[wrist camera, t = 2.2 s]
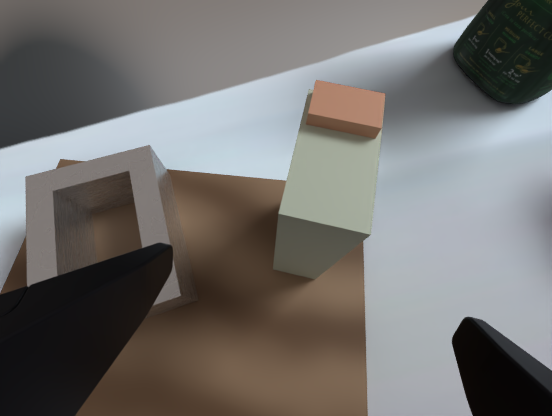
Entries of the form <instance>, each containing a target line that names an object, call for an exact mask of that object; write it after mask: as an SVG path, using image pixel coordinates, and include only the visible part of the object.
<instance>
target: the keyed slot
mask: <svg viewBox="0 0 552 416" xmlns="http://www.w3.org/2000/svg"><path fill="white" fill-rule="evenodd" d="M134 202H135V207H136V213H137V219H138V225H139V231H140V237H141V243H142V248H143V247H146V246H149V245H152V244H156V243H159V242H161V243H165V244H170V245H172V247H173V268H172V272H171V274H170V276H169V278H168V279H167V281H166V283H165V285H164V286H163V288H162V290H161V292H160V294H159V295H158V297H157V299H156V301H155V302H154V304H153V306H152V308H151V309H150V311H149V313H148V314H147V316H146V317H145V319H146V318H149V317H152V316H154V315H157V314H160V313H163V312H166V311H169V310H172V309H175V308H178V307H181V306H184V305H186V304H189V303H192V302H195V301H198V295H197V291H196V287H195V282H194V278H193V273H192V269H191V265H190V260H189V256H188V252H187V247H186V243H185V238H184V234H183V230H182V225H181V221H180V216H179V212H178V208H177V203H176V199H175V195H174V190H173V186H172V181H171V177H170V174H169V173H168V171H167V170H166V168H165V167H164V165H163V164H162V162H161V161H160V159H159V158H158V157H157V155H156V154H155V152H154V151H153V149H152V148H151V146H150V145H148V146H144V147H140V148H136V149H132V150H128V151H124V152H120V153H117V154H113V155H109V156H105V157H101V158H97V159H93V160H89V161H85V162H81V163H77V164H73V165H70V166H66V167H62V168H58V169H54V170H50V171H46V172H42V173H38V174H34V175H30V176H26V249H27V286H28V287H29V286H30V285H31V284H34V283H37V282H40V281H43V280H46V279H49V278H52V277H55V276H58V275H61V274H64V273H67V272H70V271H73V270H77V269H80V268H83V267H86V266H89V265H92V264H95V263H97V254H96V245H95V235H94V226H93V217H92V214H95V213H98V212H102V211H105V210H109V209H112V208H116V207H119V206H123V205H127V204H130V203H134Z"/></svg>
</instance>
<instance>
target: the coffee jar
mask: <svg viewBox="0 0 552 416" xmlns="http://www.w3.org/2000/svg"><path fill="white" fill-rule="evenodd" d="M454 58H455V60H456V62H457V63H458V64H459V66H460V67H461V68H462V69H463V71H464V72H465V73H466V74H467V75H468V76H469V77H470V78H471V79H472V80H473V81H474V82H475V83H476V84H477V85H478V86H479V87H480V88H481V89H482V90H483V91H485V92H486V93H487V94H488V95H489V96H491V97H492V98H494V99H495V100H497V101H500V102H506V103H513V104H519V103H525V102H529V101H531V100H534V99H536V98H539V97H541V96H543V95H545V94H546V93H548V92H549V91H551V90H552V0H488V1H487V2H486V4H485V5H484V6H483V7H482V9H481V10H480V11H479V12H478V14H477V15H476V16H475V17H474V19H473V20H472V21H471V23H470V24H469V25H468V26H467V28H466V29H465V30H464V32H463V33H462V35H461V36H460V37H459V39H458V40H457V42H456V43H455V46H454Z"/></svg>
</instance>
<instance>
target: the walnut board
mask: <svg viewBox="0 0 552 416" xmlns="http://www.w3.org/2000/svg"><path fill="white" fill-rule="evenodd" d="M81 162H85V161H75V160H64V159H60V161H59V163H58V166H57V168H56V169H58V168H62V167H66V166H70V165H73V164H77V163H81ZM166 170H167V171H168V173H169V174H170V177H171V181H172V186H173V190H174V195H175V199H176V203H177V208H178V212H179V216H180V221H181V225H182V230H183V234H184V238H185V243H186V247H187V252H188V256H189V260H190V265H191V269H192V273H193V278H194V282H195V287H196V291H197V295H198V301H195V302H192V303H189V304H186V305H184V306H181V307H178V308H175V309H172V310H169V311H166V312H163V313H160V314H157V315H154V316H152V317H149V318H146V319H144V320H143V322H142V323H141V325H140V326H139V328H138V329H137V330H136V332H135V333H134V334H133V336H132V337H131V339H130V340H129V341H128V343H127V344H126V346H125V347H124V348H123V350H122V351H121V353H120V354H119V355H118V357H117V358H116V360H115V361H114V362H113V364H112V365H111V366H110V368H109V369H108V371H107V372H106V373H105V375H104V376H103V378H102V379H101V380H100V382H99V383H98V385H97V386H96V387H95V389H94V390H93V392H92V393H91V394H90V396H89V397H88V399H87V400H86V401H85V403H84V404H83V405H82V407H81V408H80V410H79V411H78V412H77V414H76V415H75V416H368V411H367V372H366V334H365V295H364V256H363V241H362V242H361V243H360V244H359V245H357V246H356V247H355V248H354V249H352V250H351V251H350V252H349V253H347V254H346V255H345V256H344V257H342V258H341V259H340V260H339V261H337V262H336V263H335V264H334V265H333V266H331V267H330V268H329V269H328V270H326V271H325V272H324V273H323V274H321V275H320V276H319V277H318V278H316V279H311V278H307V277H303V276H299V275H295V274H291V273H286V272H282V271H278V270H274V269H273V263H274V253H275V243H276V233H277V223H278V214H279V209H280V205H281V201H282V197H283V193H284V189H285V185H286V181H283V180H273V179H263V178H252V177H242V176H231V175H221V174H210V173H200V172H189V171H179V170H169V169H166ZM92 217H93V226H94V235H95V245H96V254H97V263H98V262H101V261H104V260H107V259H110V258H113V257H116V256H119V255H122V254H125V253H128V252H131V251H134V250H137V249H140V248H142V243H141V237H140V231H139V225H138V219H137V213H136V207H135V202H134V203H130V204H127V205H123V206H119V207H116V208H112V209H109V210H105V211H102V212H98V213H95V214H92ZM25 286H27V249H26V237H25V239H24V242H23V244H22V246H21V248H20V251H19V253H18V255H17V257H16V259H15V262H14V264H13V266H12V268H11V271H10V273H9V275H8V277H7V280H6V282H5V284H4V286H3V289H2V291H1V293H0V294H3V293H7V292H10V291H13V290H16V289H19V288H22V287H25Z"/></svg>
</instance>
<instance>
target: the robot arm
mask: <svg viewBox="0 0 552 416" xmlns="http://www.w3.org/2000/svg"><path fill="white" fill-rule="evenodd" d="M172 268H173V247H172V245H170V244H165V243H161V242H159V243H156V244H152V245H149V246H146V247H143V248H140V249H137V250H134V251H131V252H128V253H125V254H122V255H119V256H116V257H113V258H110V259H107V260H104V261H101V262H98V263H95V264H92V265H89V266H86V267H83V268H80V269H77V270H73V271H70V272H67V273H64V274H61V275H58V276H55V277H52V278H49V279H46V280H43V281H40V282H37V283H34V284H31V285H30V286H29V287H28V286H25V287H22V288H19V289H16V290H13V291H10V292H7V293H3V294H0V416H75V415H76V414H77V412H78V411H79V410H80V408H81V407H82V405H83V404H84V403H85V401H86V400H87V399H88V397H89V396H90V394H91V393H92V392H93V390H94V389H95V387H96V386H97V385H98V383H99V382H100V380H101V379H102V378H103V376H104V375H105V373H106V372H107V371H108V369H109V368H110V366H111V365H112V364H113V362H114V361H115V360H116V358H117V357H118V355H119V354H120V353H121V351H122V350H123V348H124V347H125V346H126V344H127V343H128V341H129V340H130V339H131V337H132V336H133V334H134V333H135V332H136V330H137V329H138V328H139V326H140V325H141V323H142V322H143V320H144V319H145V317H146V316H147V314H148V313H149V311H150V309H151V308H152V306H153V304H154V302H155V301H156V299H157V297H158V295H159V294H160V292H161V290H162V288H163V286H164V285H165V283H166V281H167V279H168V278H169V276H170V274H171V272H172ZM452 345H453V349H454V353H455V357H456V361H457V364H458V368H459V372H460V376H461V380H462V383H463V387H464V391H465V394H466V398H467V401H468V404H469V407H470V409H471V412H472V415H473V416H552V371H551V370H550V369H549V368H547V367H546V366H545V365H543V364H542V363H541V362H539V361H538V360H536V359H535V358H534V357H532V356H531V355H530V354H528V353H527V352H526V351H524V350H523V349H521V348H520V347H519V346H517V345H516V344H515V343H513V342H512V341H511V340H509V339H508V338H506V337H505V336H504V335H502V334H501V333H500V332H498V331H497V330H496V329H494V328H493V327H491V326H490V325H489V324H487V323H486V322H485V321H483V320H481V319H477V318H472V317H465V318H464V319H463V320H462V322H461V323H460V325H459V327H458V328H457V330H456V332H455V333H454V335H453V338H452Z"/></svg>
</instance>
